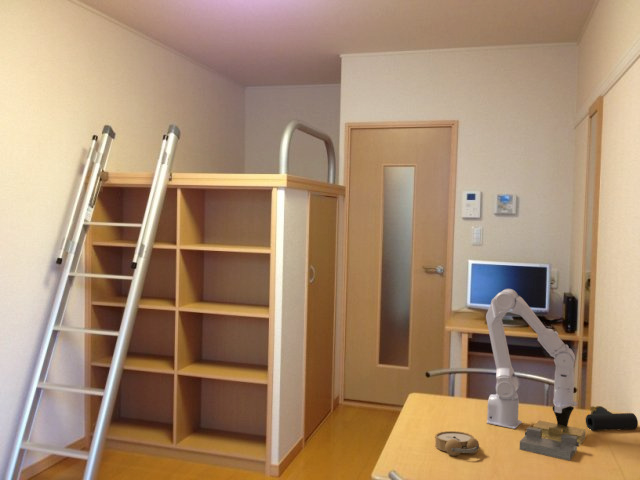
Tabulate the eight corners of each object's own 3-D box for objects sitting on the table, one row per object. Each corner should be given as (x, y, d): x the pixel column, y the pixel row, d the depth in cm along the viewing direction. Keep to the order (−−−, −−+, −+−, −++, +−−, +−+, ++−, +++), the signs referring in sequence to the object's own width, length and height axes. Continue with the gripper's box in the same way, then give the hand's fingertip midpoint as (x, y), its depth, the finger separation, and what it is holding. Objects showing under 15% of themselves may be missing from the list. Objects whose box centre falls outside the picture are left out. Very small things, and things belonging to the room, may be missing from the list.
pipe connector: (575, 405, 207) (616, 403, 209) (574, 420, 207) (615, 419, 210) (594, 417, 196) (638, 415, 198) (594, 433, 196) (637, 431, 198)
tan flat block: (531, 436, 191) (531, 423, 190) (538, 428, 198) (539, 416, 198) (579, 447, 183) (579, 433, 183) (585, 438, 190) (585, 425, 190)
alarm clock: (462, 430, 188) (486, 438, 174) (463, 446, 188) (488, 456, 173) (428, 432, 186) (450, 441, 171) (429, 449, 185) (451, 459, 171)
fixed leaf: (517, 448, 181) (517, 434, 181) (526, 439, 188) (526, 426, 188) (572, 461, 172) (572, 446, 172) (578, 451, 180) (579, 437, 179)
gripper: (572, 394, 186) (570, 438, 187) (581, 384, 198) (580, 425, 199) (548, 390, 190) (546, 433, 191) (559, 380, 202) (557, 421, 203)
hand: (562, 429), depth 195 cm, fingers closed
